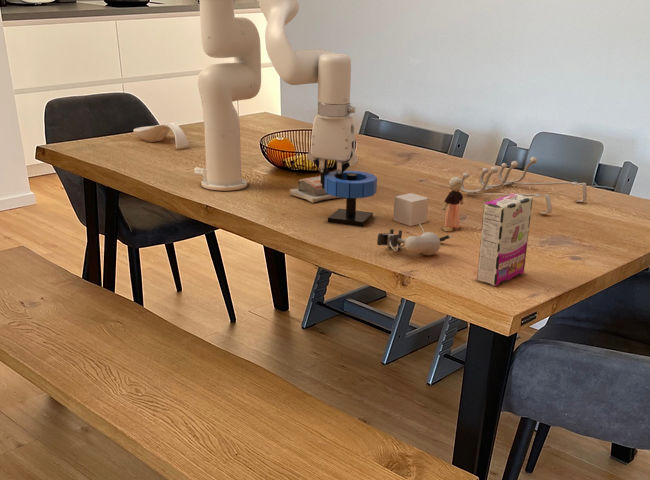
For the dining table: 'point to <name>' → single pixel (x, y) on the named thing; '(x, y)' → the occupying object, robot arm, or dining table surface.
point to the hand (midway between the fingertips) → (331, 187)
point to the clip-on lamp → (412, 241)
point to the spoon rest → (162, 134)
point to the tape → (351, 185)
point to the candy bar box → (504, 238)
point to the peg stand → (350, 211)
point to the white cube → (410, 209)
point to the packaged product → (311, 190)
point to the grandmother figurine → (453, 205)
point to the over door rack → (504, 182)
